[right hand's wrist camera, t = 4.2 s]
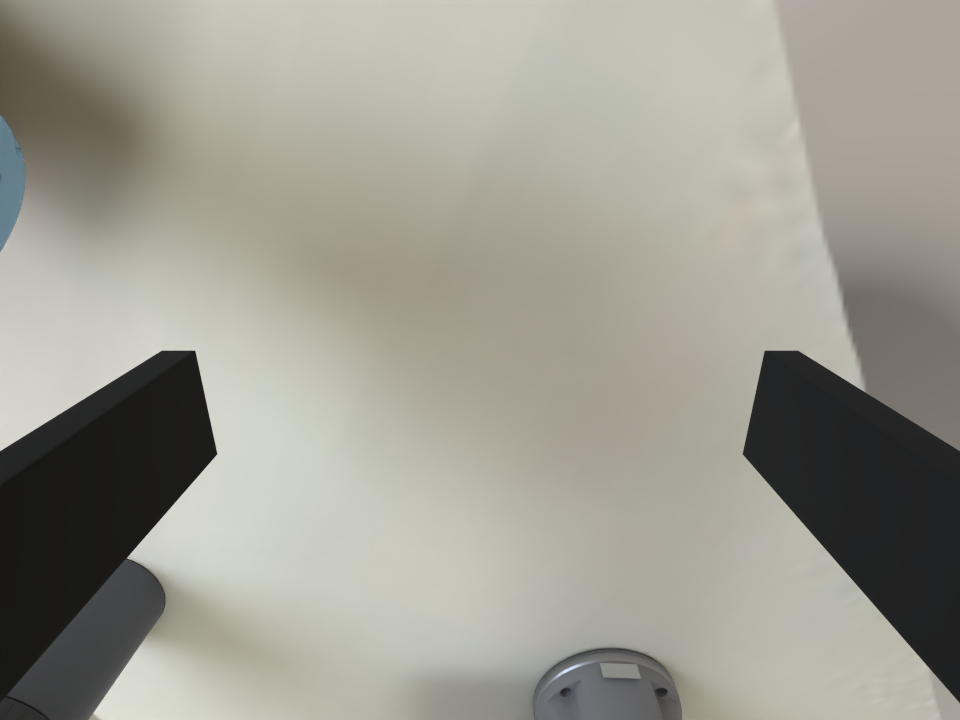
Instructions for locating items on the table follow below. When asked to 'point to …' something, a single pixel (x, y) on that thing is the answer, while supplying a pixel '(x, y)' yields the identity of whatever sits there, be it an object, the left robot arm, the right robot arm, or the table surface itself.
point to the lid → (17, 711)
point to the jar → (93, 647)
